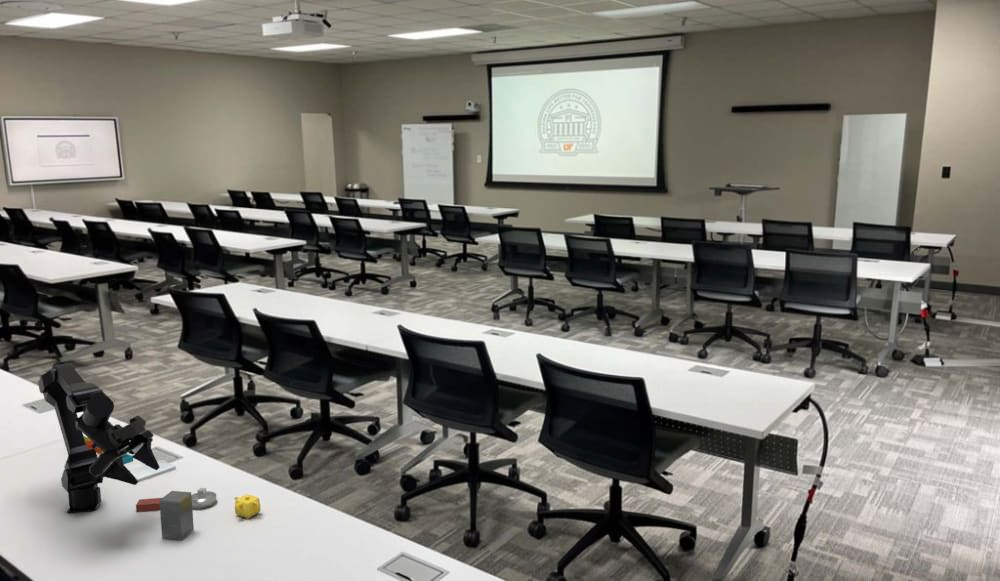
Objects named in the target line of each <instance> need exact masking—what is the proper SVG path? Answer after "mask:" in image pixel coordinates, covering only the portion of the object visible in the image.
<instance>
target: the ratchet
mask: <svg viewBox="0 0 1000 581" xmlns="http://www.w3.org/2000/svg"><path fill="white" fill-rule="evenodd" d="M196 490H197V492H195V493H193V494H191V495H192V510H193V511H202V510H207V509H211V508H213V507H215V505H216V504H217V501H218V500H217V494H216V492H214V491H209V490H208V491H207V488H205V487H200V488H198V489H196ZM162 498H163V497H154V498H142V499H141V498H140V499H138V501H137V503H136V504H135V510H136V511H135V512H136V513H141V512H142V513H143V512H155V511H156V512H157V511H160V503H159V500H160V499H162Z"/></svg>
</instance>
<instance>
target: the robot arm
mask: <svg viewBox="0 0 1000 581" xmlns="http://www.w3.org/2000/svg"><path fill="white" fill-rule="evenodd" d="M38 389H39V393H40V394H42V395H43V398H44V401H45V402H46V403H48V404H49V405H51V407H53V408H54V411H55V413H56V417H57V420H58V424H59V427H60V431H61V434H62V439H63V441H64V445H65V447H66V448H65V449H66V452H67V459H66V461H65V464H64V467H63V469H64V470H63V473H62V475H61V478H60V480H61V486H62V488H63V490H64V491H65V492H67V496H68V505H69V508H68V509H67V511H66V512H67V513H68V514H71V513H83V512H84V513H85V512H93V511H95V510H96V509H97V507H99V505H100V503H101V502H102V494H101V486H99V484H103V481H104V478H108V479H112V480H115V481H116V480H117V481H120V482H122V483H123V482H124V483H127V484H129V485H133V486H136V485H138V483H139V482H138V480H137V479H136V478H135V477H134V475H133V474H132V473H131V472H130V471H129V469H128V468H127V467H126V466H125V464H123V458H122V456H123V455H125V454H129V455H132V456H133V459H135V460H137V461H138V462H141V463H142V464H144V466H145V465H147V466H149V467H151V468H153V469H155V470H158V469H159V468H160V467H159V464H158V462H157V461H158V460H157V459H156V457H155V454H154V452H153V450H152V442H153V437H154V436H155V434H153V433H152V432H151V430H149V429H146V423H147V421H146V420H145V419H144V418H143V417H141V416H140V415H136V416H134V417H132V418H130V419H129V423H128V424H126V425H124V426H122V425H120V424H118V423H116V424H112V423H111V422H110V421H109V420H110V418H111V415H112V413H113V412H114V409H115V404H114V401H113V400H112V399H111V398H110V396H108V395H107V394H106V393H105V392H104V391H103V389H100V387H99V386H98V385H96V384H95V383H93V382H92V383H91V382H86V381H85V380H84V378H83V377H82V376H81V375H80V374H79V373H78V371H77V370H76V367H75V364H74V363H70V362H68V363H63V364H57V365H54V366H51V368H50V370H48V371H46V372H44V373H43V374H41V375H40V377H39V380H38ZM79 413H82V414H81V415H80V416H78V414H79ZM84 436H85V437H88V438H89V439H90V440H91V441H92V442H93V445H92V446H91V447H92V448H94V449H95V448H97V447H98V448H99V449H101V450H102V451H103V452H104V453H103V454H99V456H98V455H97V454H98V453H96V451H95V450H94V449H89V448H88V447H87V446H86V443H85V439H84ZM119 453H120V454H119Z"/></svg>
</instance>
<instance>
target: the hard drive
mask: <svg viewBox="0 0 1000 581" xmlns="http://www.w3.org/2000/svg"><path fill="white" fill-rule="evenodd" d="M157 462H158V464H159V467H160V468H159V469H158V470H155V469H153V468H151V467H149V466H147V465H145V464H144V465H142V466H139V467H136V468H133V469H130V470H129V469H128V470H129V471H130V472H131V473H132V474H133V475H134V477H135V478H136V479H137V480H138V483H140V482H144V481H146V480H149V479H153V478H155V477H158V476H161V475H164V474H166V473H170V472H172V471H175V470H177V467H176V465H174V464H172V463H170V462H168V461H165V460H163V459H160V460H157Z"/></svg>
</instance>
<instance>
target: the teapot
mask: <svg viewBox="0 0 1000 581" xmlns="http://www.w3.org/2000/svg"><path fill="white" fill-rule="evenodd" d="M234 501H235V502H234V512H235V514H236V515H238V517H244V518H245V519H247V520H249V519H251V518H252V517H253V516H256V515H258V514H259V513H260V512H261V503H260V497H258V496H255V495H252V494H248V493H247V494H245V495H242V496H241V497H237V496H236V497H234Z"/></svg>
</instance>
